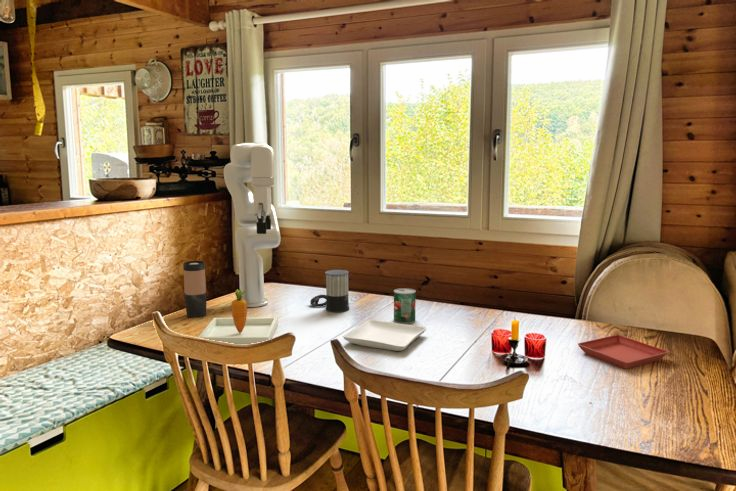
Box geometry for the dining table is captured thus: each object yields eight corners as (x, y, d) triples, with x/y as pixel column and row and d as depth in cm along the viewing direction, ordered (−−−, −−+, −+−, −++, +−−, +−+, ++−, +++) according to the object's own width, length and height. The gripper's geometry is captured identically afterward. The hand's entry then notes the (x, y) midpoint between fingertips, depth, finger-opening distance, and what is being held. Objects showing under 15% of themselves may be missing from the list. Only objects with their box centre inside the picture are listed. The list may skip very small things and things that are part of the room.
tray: (214, 326, 200) (214, 317, 199) (277, 325, 200) (277, 317, 200) (197, 347, 178) (197, 337, 178) (268, 346, 179) (268, 337, 178)
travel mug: (210, 312, 217) (207, 260, 214) (202, 318, 209) (199, 264, 206) (190, 312, 218) (188, 260, 214) (182, 317, 210) (179, 264, 207)
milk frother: (348, 312, 217) (348, 274, 214) (307, 312, 217) (306, 274, 215) (350, 303, 231) (350, 267, 228) (311, 302, 231) (311, 266, 229)
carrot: (233, 330, 192) (232, 287, 189) (248, 330, 192) (247, 287, 190) (231, 335, 187) (230, 290, 185) (246, 335, 187) (245, 290, 185)
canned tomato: (419, 321, 205) (420, 291, 204) (402, 324, 201) (402, 294, 199) (406, 316, 212) (406, 287, 210) (389, 319, 208) (389, 290, 206)
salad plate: (427, 336, 190) (427, 326, 189) (404, 356, 171) (404, 345, 170) (369, 328, 199) (369, 318, 198) (341, 346, 179) (341, 336, 179)
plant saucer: (626, 373, 158) (627, 361, 157) (575, 353, 173) (576, 342, 173) (669, 362, 166) (670, 351, 165) (616, 344, 182) (617, 334, 181)
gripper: (256, 180, 205) (257, 227, 208) (246, 184, 188) (248, 235, 191) (277, 180, 205) (278, 228, 208) (269, 184, 188) (270, 235, 191)
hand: (264, 231), depth 200 cm, fingers open, 9 cm apart
